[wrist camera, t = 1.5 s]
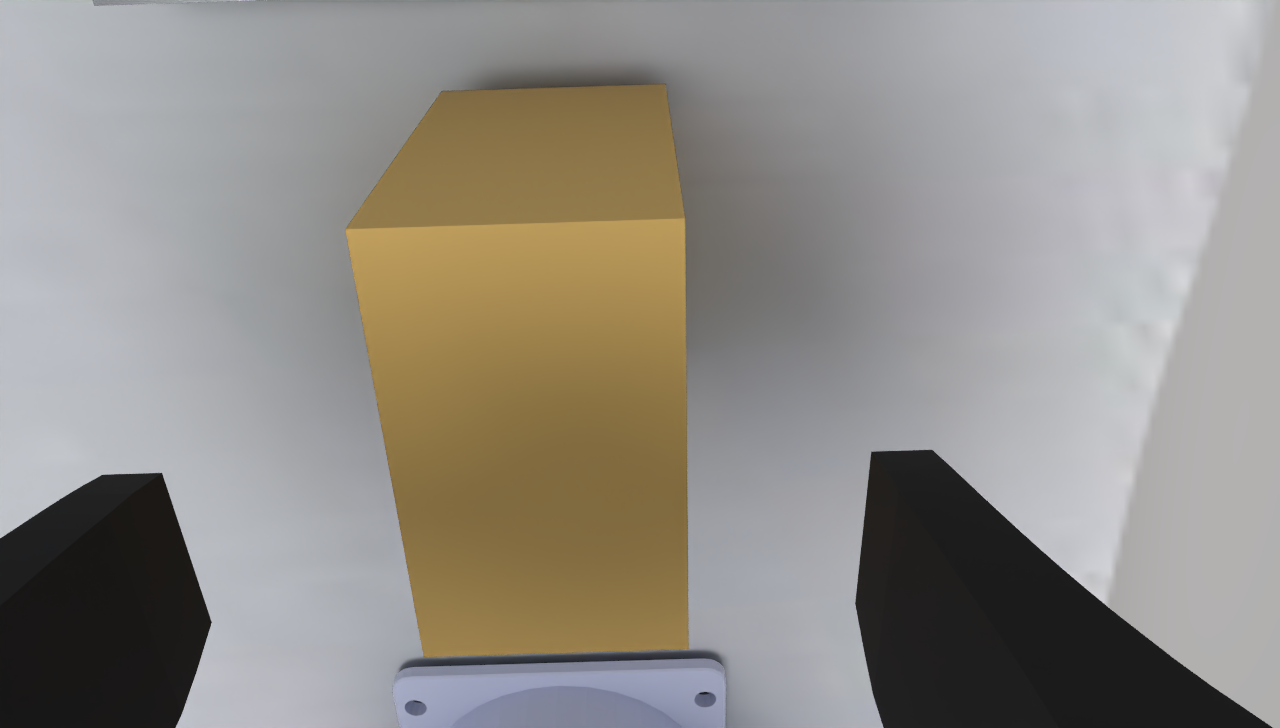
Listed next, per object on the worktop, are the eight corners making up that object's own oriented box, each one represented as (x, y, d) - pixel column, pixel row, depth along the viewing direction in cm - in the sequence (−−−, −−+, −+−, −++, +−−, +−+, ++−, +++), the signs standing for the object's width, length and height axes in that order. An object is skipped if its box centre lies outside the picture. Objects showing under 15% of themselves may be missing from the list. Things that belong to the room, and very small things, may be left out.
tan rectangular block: (667, 360, 20) (687, 648, 13) (495, 365, 20) (423, 657, 13) (661, 57, 17) (684, 218, 10) (460, 63, 17) (344, 228, 10)
